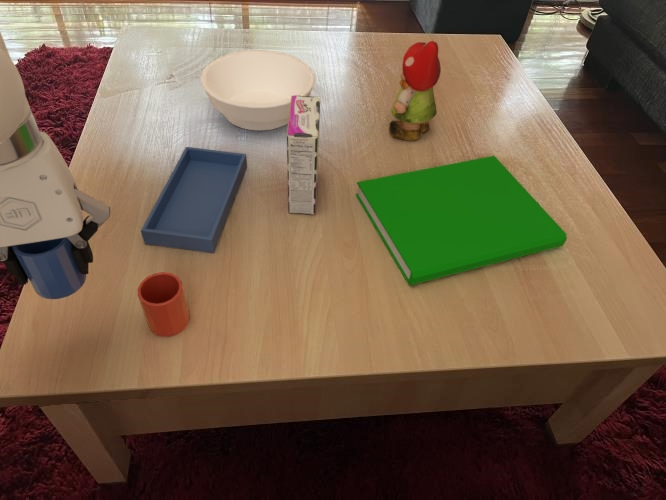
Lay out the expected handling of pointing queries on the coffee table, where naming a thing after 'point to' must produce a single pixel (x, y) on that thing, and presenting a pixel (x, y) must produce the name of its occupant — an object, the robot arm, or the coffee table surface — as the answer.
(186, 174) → the blue tray
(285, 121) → the bowl
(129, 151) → the coffee table surface
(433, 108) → the figurine
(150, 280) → the red cup
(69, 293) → the blue cup
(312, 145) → the candy bar box
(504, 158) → the coffee table surface
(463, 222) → the book
